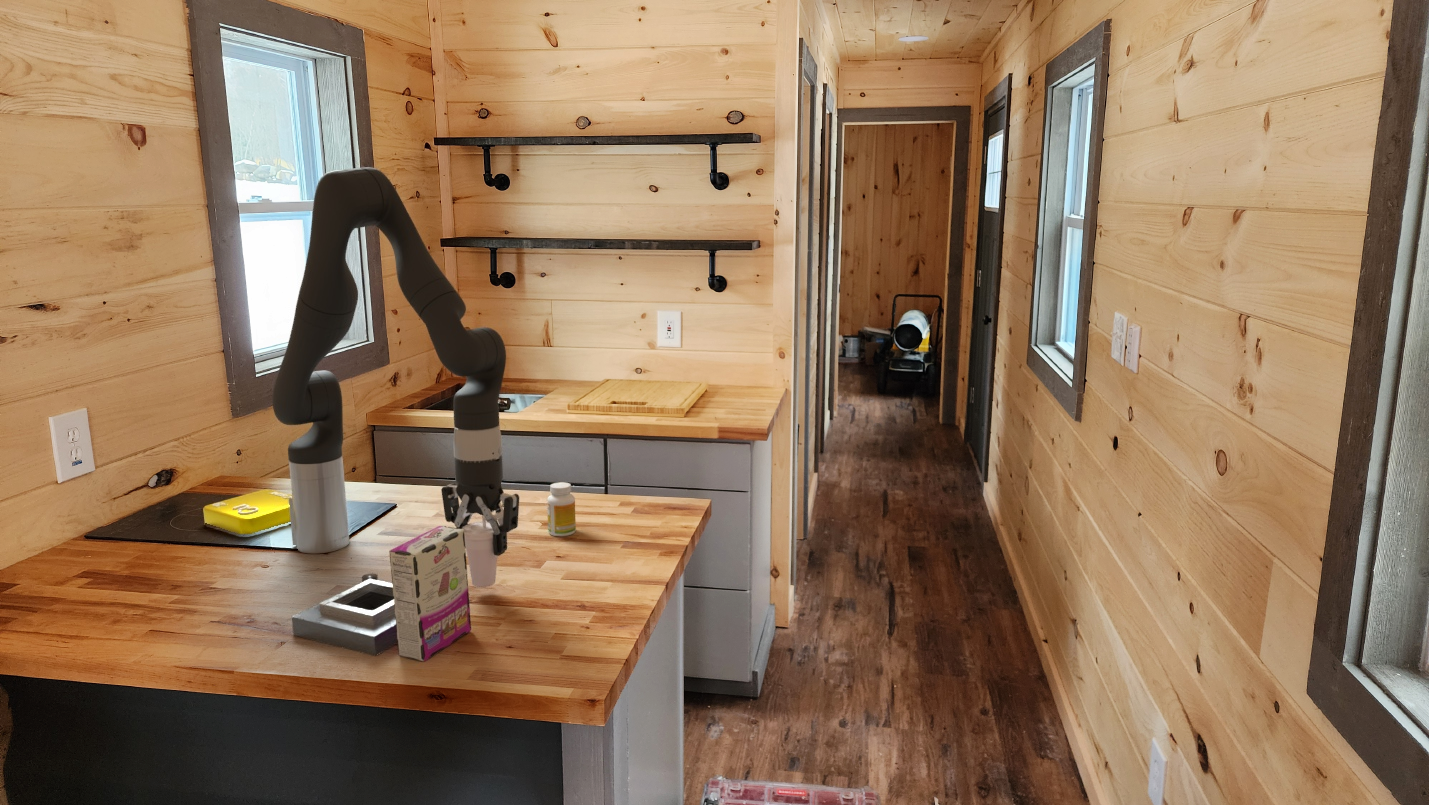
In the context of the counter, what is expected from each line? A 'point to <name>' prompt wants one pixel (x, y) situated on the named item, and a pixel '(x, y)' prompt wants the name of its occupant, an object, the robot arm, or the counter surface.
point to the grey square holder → (353, 618)
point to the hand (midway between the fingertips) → (482, 550)
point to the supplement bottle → (561, 510)
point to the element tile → (249, 512)
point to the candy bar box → (430, 592)
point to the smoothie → (480, 553)
